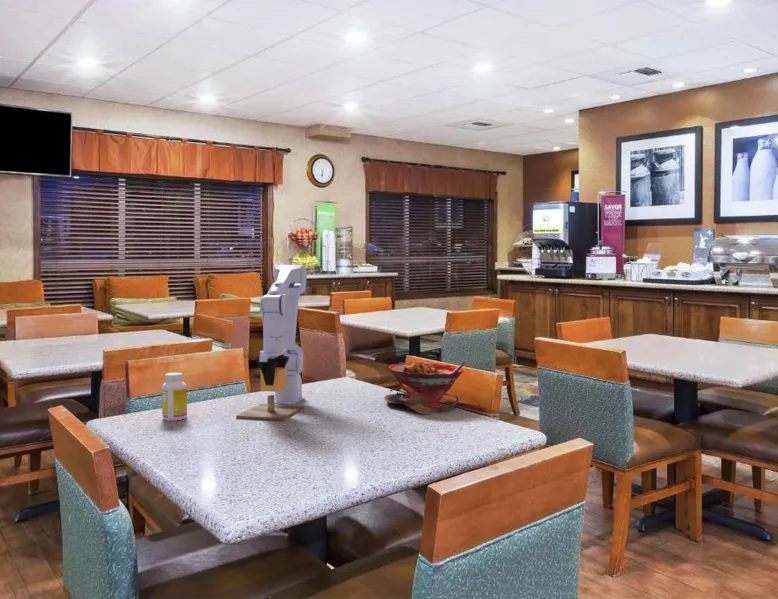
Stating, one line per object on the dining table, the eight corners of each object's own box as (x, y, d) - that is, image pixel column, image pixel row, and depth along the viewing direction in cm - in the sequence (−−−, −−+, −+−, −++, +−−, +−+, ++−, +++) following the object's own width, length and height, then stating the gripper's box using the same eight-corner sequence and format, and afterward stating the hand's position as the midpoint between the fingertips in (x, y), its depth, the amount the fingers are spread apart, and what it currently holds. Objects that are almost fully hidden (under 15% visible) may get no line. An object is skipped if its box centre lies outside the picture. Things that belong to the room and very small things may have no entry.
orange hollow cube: (269, 387, 194) (268, 367, 193) (286, 388, 192) (286, 367, 192) (260, 390, 188) (260, 370, 188) (278, 391, 187) (278, 371, 187)
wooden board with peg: (261, 407, 201) (260, 389, 201) (303, 409, 198) (303, 391, 198) (236, 419, 186) (235, 399, 186) (282, 422, 182) (281, 402, 182)
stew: (487, 409, 198) (488, 356, 197) (426, 421, 184) (426, 364, 183) (427, 395, 221) (427, 347, 220) (368, 404, 206) (368, 353, 205)
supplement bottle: (190, 416, 189) (190, 372, 189) (181, 421, 183) (180, 376, 182) (168, 415, 190) (167, 371, 189) (158, 421, 183) (157, 375, 183)
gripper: (271, 333, 198) (271, 378, 198) (249, 338, 184) (249, 387, 184) (293, 333, 196) (293, 379, 197) (272, 339, 182) (273, 388, 183)
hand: (273, 383), depth 190 cm, fingers closed on orange hollow cube, 6 cm apart
